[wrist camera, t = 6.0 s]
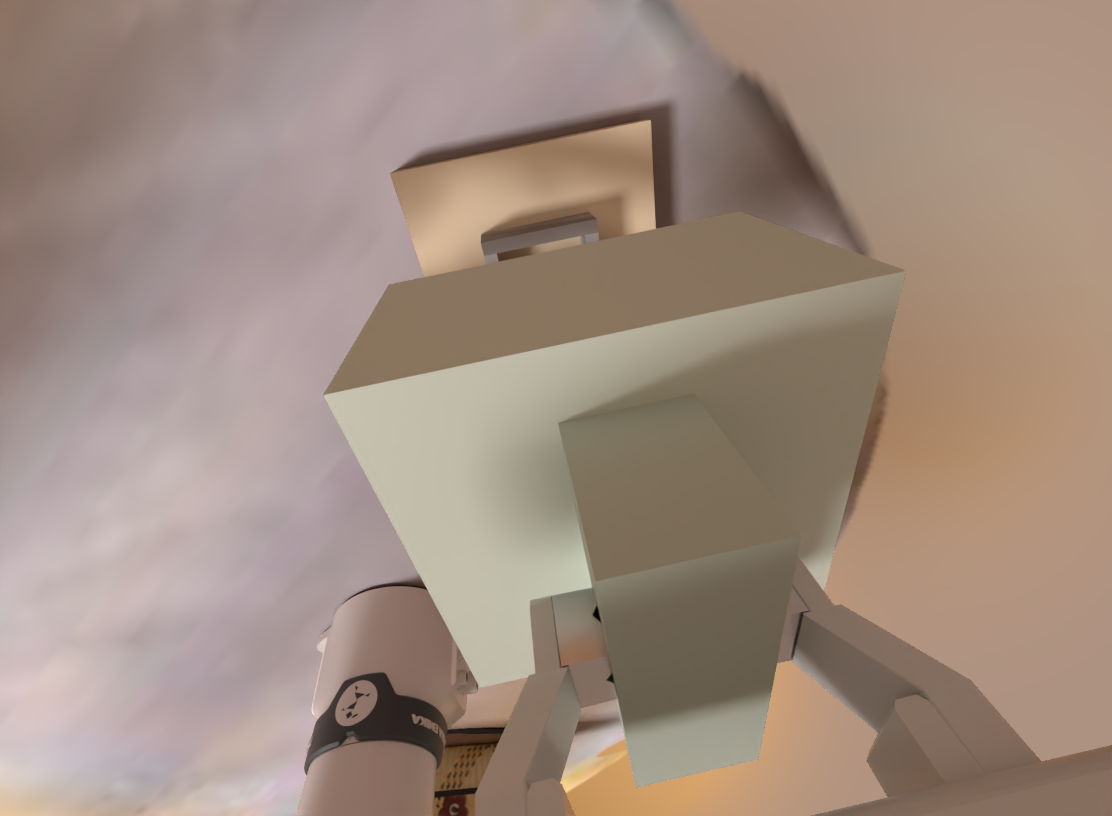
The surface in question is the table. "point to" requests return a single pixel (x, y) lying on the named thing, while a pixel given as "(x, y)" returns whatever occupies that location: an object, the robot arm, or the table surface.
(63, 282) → the table surface
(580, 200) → the socket plate
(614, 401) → the housing
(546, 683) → the robot arm
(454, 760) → the clutch purse
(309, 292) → the table surface
